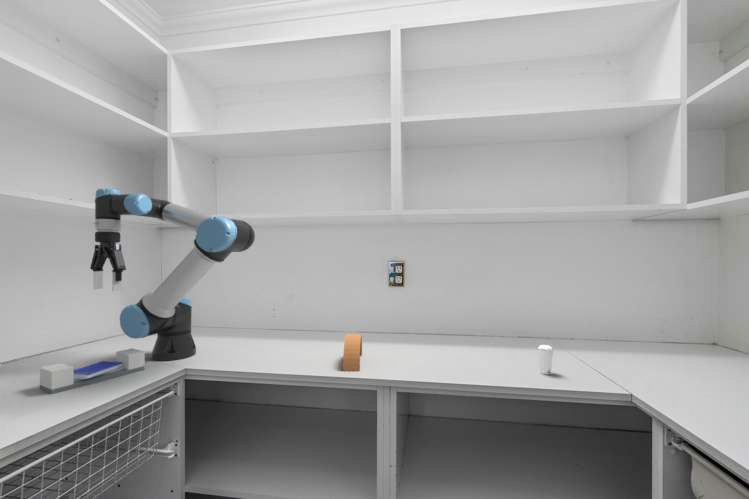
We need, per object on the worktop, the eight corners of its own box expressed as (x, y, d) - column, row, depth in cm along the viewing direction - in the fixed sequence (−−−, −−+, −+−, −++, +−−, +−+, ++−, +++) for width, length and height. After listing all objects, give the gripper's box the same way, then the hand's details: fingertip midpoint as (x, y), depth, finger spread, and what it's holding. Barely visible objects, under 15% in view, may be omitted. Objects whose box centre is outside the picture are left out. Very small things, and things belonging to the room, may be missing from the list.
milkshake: (549, 377, 114) (549, 345, 114) (535, 372, 119) (534, 341, 119) (558, 374, 116) (558, 343, 116) (544, 370, 121) (543, 340, 121)
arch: (342, 371, 121) (342, 341, 121) (347, 355, 141) (347, 329, 141) (359, 371, 121) (359, 341, 121) (362, 355, 141) (362, 329, 141)
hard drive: (87, 374, 108) (122, 362, 120) (64, 372, 109) (101, 360, 121) (87, 379, 108) (122, 366, 120) (64, 377, 109) (101, 365, 121)
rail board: (131, 365, 127) (131, 348, 127) (144, 369, 123) (144, 351, 123) (39, 388, 105) (40, 367, 105) (51, 393, 101) (52, 371, 102)
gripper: (79, 232, 134) (79, 288, 134) (114, 229, 122) (113, 292, 122) (102, 233, 141) (102, 287, 141) (137, 230, 129) (136, 290, 128)
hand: (107, 289), depth 131 cm, fingers open, 13 cm apart
